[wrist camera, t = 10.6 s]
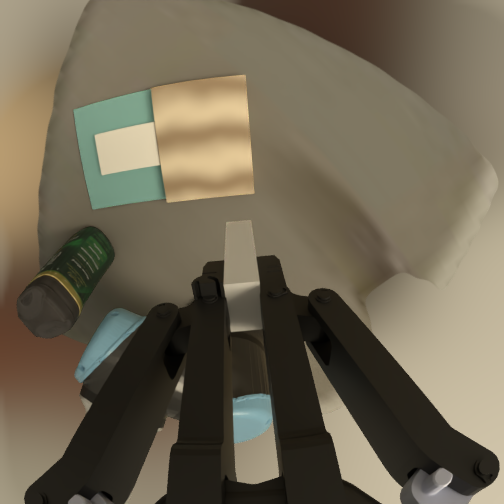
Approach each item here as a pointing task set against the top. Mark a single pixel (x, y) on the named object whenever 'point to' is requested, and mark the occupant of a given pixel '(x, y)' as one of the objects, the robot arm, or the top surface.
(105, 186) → the mat
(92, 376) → the robot arm
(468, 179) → the top surface
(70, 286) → the coffee jar
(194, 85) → the tan flat block
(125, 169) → the card
